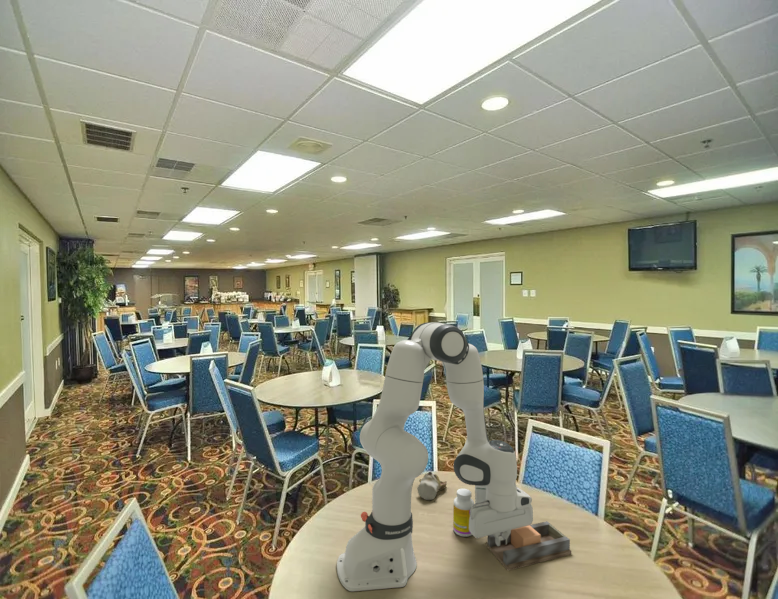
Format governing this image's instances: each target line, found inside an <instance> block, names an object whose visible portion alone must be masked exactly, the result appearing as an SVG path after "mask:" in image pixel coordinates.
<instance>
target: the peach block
mask: <svg viewBox="0 0 778 599" xmlns="http://www.w3.org/2000/svg"><path fill="white" fill-rule="evenodd" d="M540 542H541V535H540V534H539V533H538V532H537V531H536V530H535V529H533V528H532V527H531V526H530V525H529V526H524V527H520V528H517V529H513V530H511V544H512V545H513V546H514V547H515V548H519V547H523V546H528V545H532V544H536V543H540Z"/></svg>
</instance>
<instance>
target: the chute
mask: <svg viewBox="0 0 778 599" xmlns="http://www.w3.org/2000/svg"><path fill="white" fill-rule="evenodd" d="M530 526H531V527H532V528H533V529H535V530H536V531H537V532H538V533H539V534H540V535H541V542H540V543H536V544H532V545H528V546H523V547H519V548H515V547H514V546H513V545H512V544H511V533H510V535H509V537H508V539H507V544H506V545H502V546H497V545H496V543H495V537H494V535H489V536H486V537H487V538H486V539H487V542H486V543H485V547H487V548H488V550H489V551H490V552H491V553H492V554H493V556H494V557H495V558H496V559H497V560H498V561H499V562H500V564H501V565H502V566H503V567H504V568H505V569H506V570H507V571H510V570H515V569H519V568H523V567H527V566H531V565H535V564H539V563H542V562H543V563H544V562H547V561H550V560H551V561H552V560H555V559H558V558H559V559H560V558H562V557H567V556H570V555H572V550H571V547H570V546H571V545H570V544H571V543H570V541H571V539H570V538H568V536H566V535H565V534H564V533H562V532H561V531H559V529H558V528H556V527H555V526H554V525H553V524H551V523H550V522H549V521H547V520H545V521H542V522H537V523H531V525H530ZM502 533H503V532H501V533H500V536H502Z"/></svg>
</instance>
